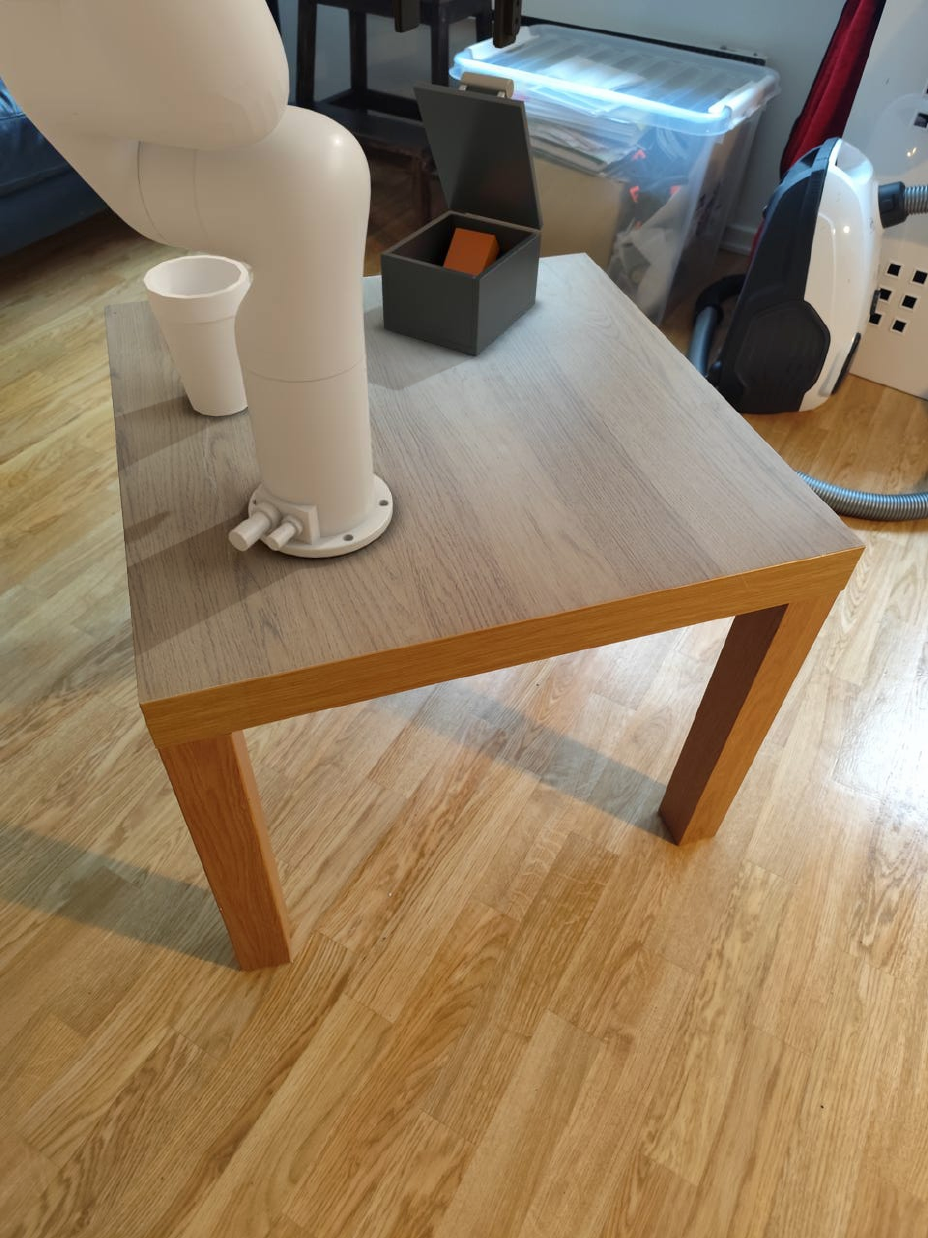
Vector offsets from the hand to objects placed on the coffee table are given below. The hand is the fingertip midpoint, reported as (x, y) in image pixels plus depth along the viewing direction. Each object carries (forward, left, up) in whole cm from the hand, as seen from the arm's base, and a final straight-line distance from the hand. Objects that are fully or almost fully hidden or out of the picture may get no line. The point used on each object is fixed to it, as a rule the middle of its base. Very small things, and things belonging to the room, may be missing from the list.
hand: (454, 37), depth 71 cm
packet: (+12, +5, -25) cm, 28 cm away
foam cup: (-20, +16, -31) cm, 40 cm away
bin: (+10, +4, -30) cm, 32 cm away
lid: (+13, +4, -14) cm, 20 cm away
